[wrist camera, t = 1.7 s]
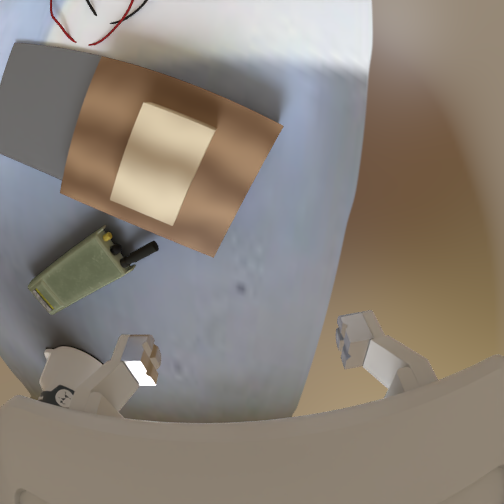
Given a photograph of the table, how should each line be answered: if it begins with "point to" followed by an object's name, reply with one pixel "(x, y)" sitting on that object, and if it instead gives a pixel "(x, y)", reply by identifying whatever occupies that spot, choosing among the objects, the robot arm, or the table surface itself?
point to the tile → (160, 161)
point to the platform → (208, 173)
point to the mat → (43, 104)
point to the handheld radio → (84, 270)
